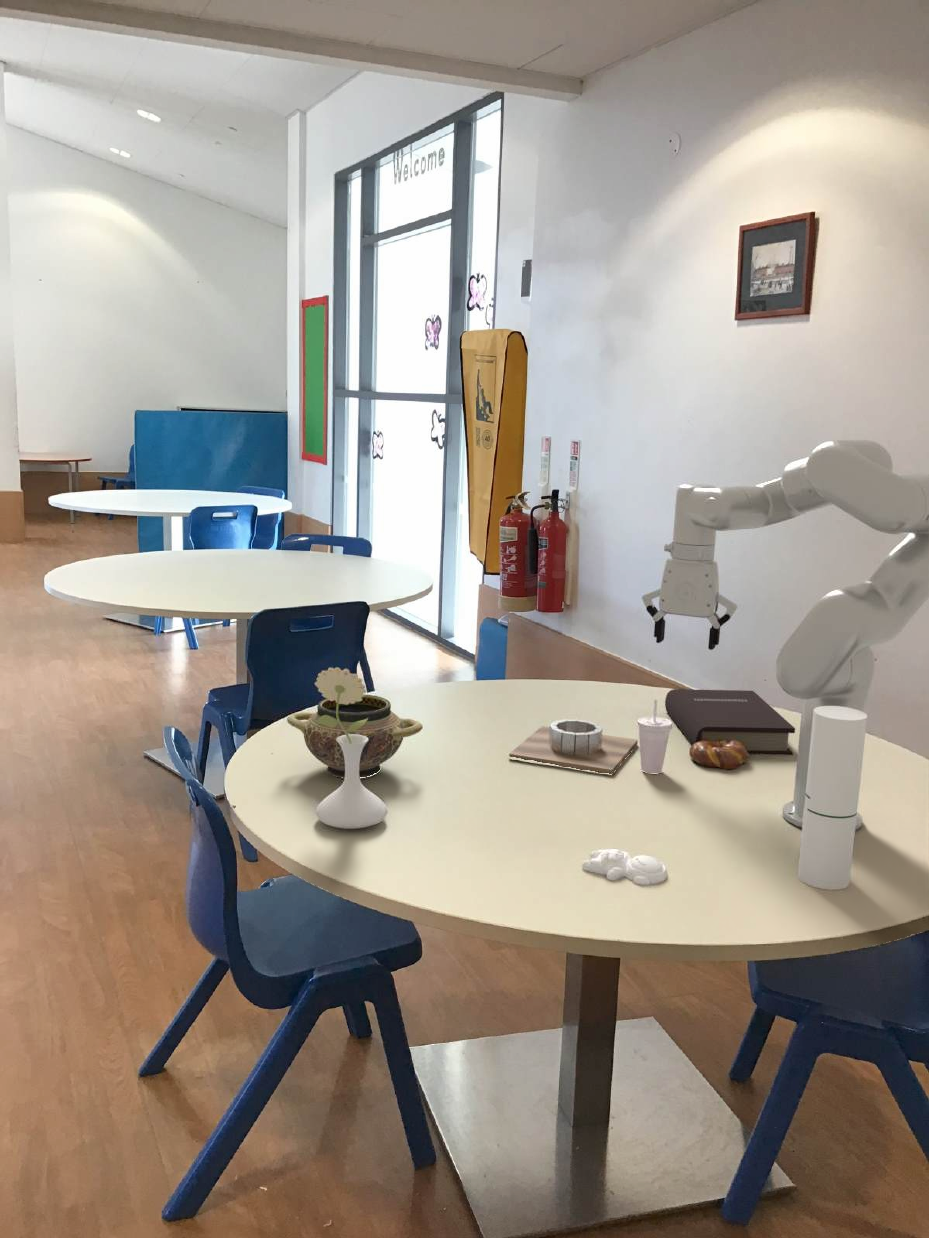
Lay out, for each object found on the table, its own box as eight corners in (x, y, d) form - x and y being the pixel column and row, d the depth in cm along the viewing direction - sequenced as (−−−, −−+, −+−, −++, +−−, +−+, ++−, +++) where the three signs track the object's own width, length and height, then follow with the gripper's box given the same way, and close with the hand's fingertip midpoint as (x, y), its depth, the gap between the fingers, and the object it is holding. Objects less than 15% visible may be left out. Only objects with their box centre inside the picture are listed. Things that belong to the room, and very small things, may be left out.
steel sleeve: (592, 757, 203) (594, 737, 202) (542, 750, 206) (543, 730, 206) (606, 743, 212) (607, 723, 211) (558, 736, 215) (559, 716, 215)
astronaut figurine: (597, 853, 163) (598, 834, 163) (673, 871, 158) (675, 851, 157) (575, 874, 156) (576, 854, 155) (655, 893, 150) (657, 873, 150)
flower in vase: (401, 818, 174) (404, 668, 169) (359, 841, 164) (361, 683, 159) (336, 801, 180) (337, 656, 175) (292, 822, 171) (292, 670, 166)
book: (664, 714, 239) (665, 688, 237) (750, 716, 239) (752, 690, 238) (694, 755, 211) (696, 726, 210) (792, 757, 212) (795, 728, 211)
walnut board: (611, 776, 196) (612, 769, 196) (508, 759, 204) (509, 753, 204) (637, 745, 215) (637, 739, 214) (542, 731, 222) (542, 725, 222)
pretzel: (719, 748, 215) (721, 730, 214) (762, 764, 206) (763, 745, 205) (676, 757, 208) (677, 738, 208) (717, 773, 199) (719, 754, 199)
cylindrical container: (838, 868, 159) (855, 706, 155) (857, 889, 152) (875, 720, 148) (790, 867, 159) (806, 705, 154) (807, 889, 152) (824, 719, 147)
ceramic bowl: (427, 779, 200) (433, 698, 201) (407, 788, 182) (413, 700, 183) (300, 768, 204) (306, 689, 205) (269, 776, 186) (275, 690, 187)
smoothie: (631, 774, 198) (636, 701, 195) (636, 763, 204) (641, 692, 201) (666, 778, 196) (672, 704, 193) (670, 768, 202) (675, 696, 199)
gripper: (640, 550, 195) (634, 643, 198) (737, 560, 188) (729, 655, 191) (651, 546, 201) (645, 635, 205) (745, 554, 194) (737, 646, 198)
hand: (685, 644), depth 198 cm, fingers open, 9 cm apart
